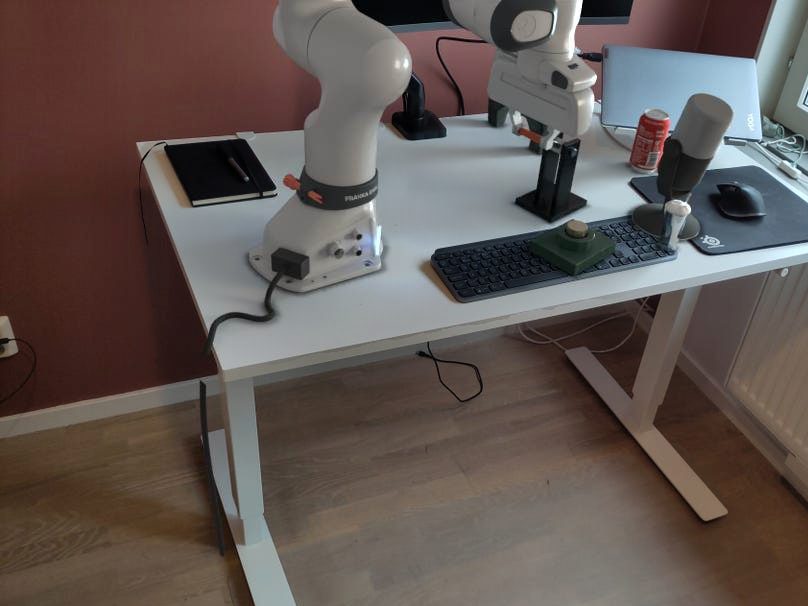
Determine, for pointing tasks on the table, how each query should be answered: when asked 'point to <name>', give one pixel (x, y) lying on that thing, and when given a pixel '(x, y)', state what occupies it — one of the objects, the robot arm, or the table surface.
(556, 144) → the switch lever
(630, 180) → the table surface
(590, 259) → the button housing
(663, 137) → the beverage can
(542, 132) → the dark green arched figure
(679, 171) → the microphone
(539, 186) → the switch bracket
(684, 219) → the milkshake
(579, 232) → the button
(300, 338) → the table surface
